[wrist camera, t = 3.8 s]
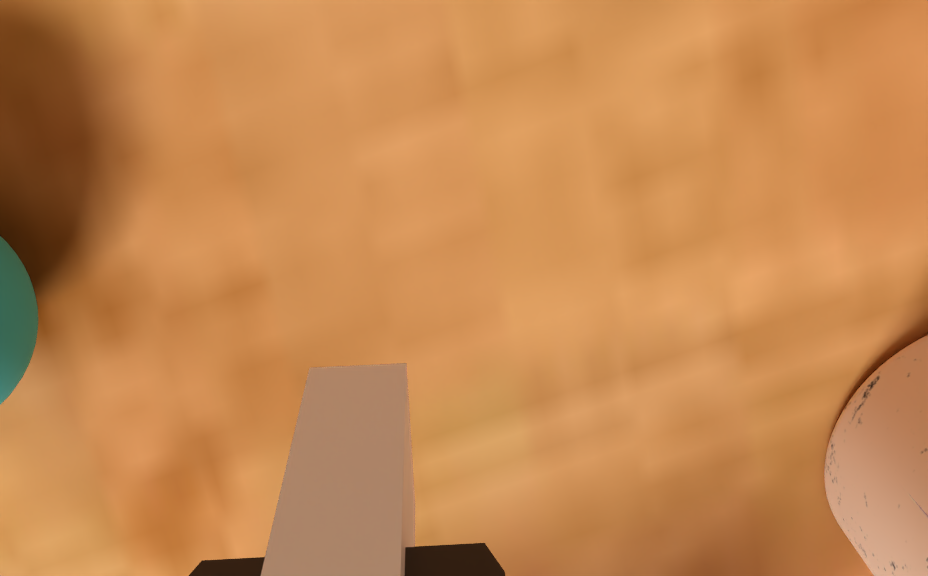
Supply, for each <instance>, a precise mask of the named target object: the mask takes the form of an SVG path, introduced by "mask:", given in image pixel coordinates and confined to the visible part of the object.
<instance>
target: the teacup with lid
mask: <svg viewBox="0 0 928 576" xmlns="http://www.w3.org/2000/svg"><path fill="white" fill-rule="evenodd" d="M824 478H825V490H826V495H827V499H828V502H829V505H830V508H831V511H832V513H833V515H834V517H835V519H836V521H837V523H838V524H839V526H840V527H841V529H842V530H843V532H844V533H845V534H846V536H847V537H848V539H849V540H850V542H851V543H852V545H853V546H854V547H855V549H856V550H857V552H858V553H859V555H860V556H861V558H862V559H863V561H864V562H865V563H866V565H867V566H868V568H869V569H870V571H871V572H872V574H873V575H874V576H928V335H927V336H925V337H922V338H920V339H919V340H917V341H915V342H913V343H912V344H910V345H908V346H907V347H905V348H904V349H902V350H901V351H899V352H898V353H896V354H895V355H893V356H892V357H891V358H890V359H888V360H887V361H886V362H885V363H883V364H882V365H881V366H880V367H879V368H878V369H877V370H876V371H875V372H873V373H872V374H871V375H870V376H869V377H868V378H867V379H866V381H865V382H864V383H863V384H862V385H861V386H860V387H859V388H858V390H857V391H856V392H855V394H854V395H853V396H852V398H851V399H850V400H849V402H848V404H847V405H846V407H845V408H844V410H843V411H842V413H841V415H840V417H839V419H838V421H837V423H836V425H835V427H834V430H833V432H832V435H831V437H830V441H829V444H828V448H827V452H826V458H825V469H824Z"/></svg>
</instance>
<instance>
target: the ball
mask: <svg viewBox="0 0 928 576" xmlns="http://www.w3.org/2000/svg"><path fill="white" fill-rule="evenodd" d="M37 330H38V307H37V302H36V296H35V292H34V289H33V286H32V283H31V280H30V277H29V275H28V273H27V271H26V269H25V267H24V265H23V263H22V262H21V260H20V259H19V257H18V256H17V254H16V253H15V251H14V250H13V249H12V248H11V247H10V245H9V244H8V243H7V242H6V241H5V240H4V239H3V238H2V237H1V236H0V404H1V403H2V402H3V401H4V400H5V399H6V398H7V397H8V396H9V395H10V394H11V393H12V391H13V390H14V388H15V387H16V386H17V384H18V383H19V381H20V380H21V378H22V377H23V375H24V373H25V371H26V369H27V367H28V365H29V362H30V360H31V357H32V354H33V351H34V347H35V344H36V338H37Z"/></svg>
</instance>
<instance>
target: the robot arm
mask: <svg viewBox="0 0 928 576" xmlns="http://www.w3.org/2000/svg"><path fill="white" fill-rule="evenodd" d="M189 576H505V572H504V570H503V569H502V567H501V566H500V564H499V563H498V562H497V560H496V559H495V557H494V556H493V555H492V553H491V552H490V550H489V549H488V547H487V546H486V545H485V543H476V544H457V545H438V546H419V547H415V494H414V477H413V461H412V445H411V429H410V413H409V396H408V380H407V364H406V363H402V364H380V365H358V366H336V367H315V368H309V372H308V377H307V381H306V385H305V389H304V393H303V398H302V402H301V406H300V410H299V415H298V419H297V423H296V427H295V432H294V436H293V440H292V444H291V449H290V453H289V457H288V461H287V466H286V470H285V474H284V478H283V483H282V487H281V491H280V495H279V500H278V504H277V508H276V512H275V517H274V521H273V525H272V529H271V534H270V538H269V542H268V546H267V551H266V555H265V557H261V558H242V559H223V560H205V561H201V562H200V563H199V565H198V566H197V567H196V568H195V569H194V570H193V571H192V573H191V574H190V575H189Z"/></svg>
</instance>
